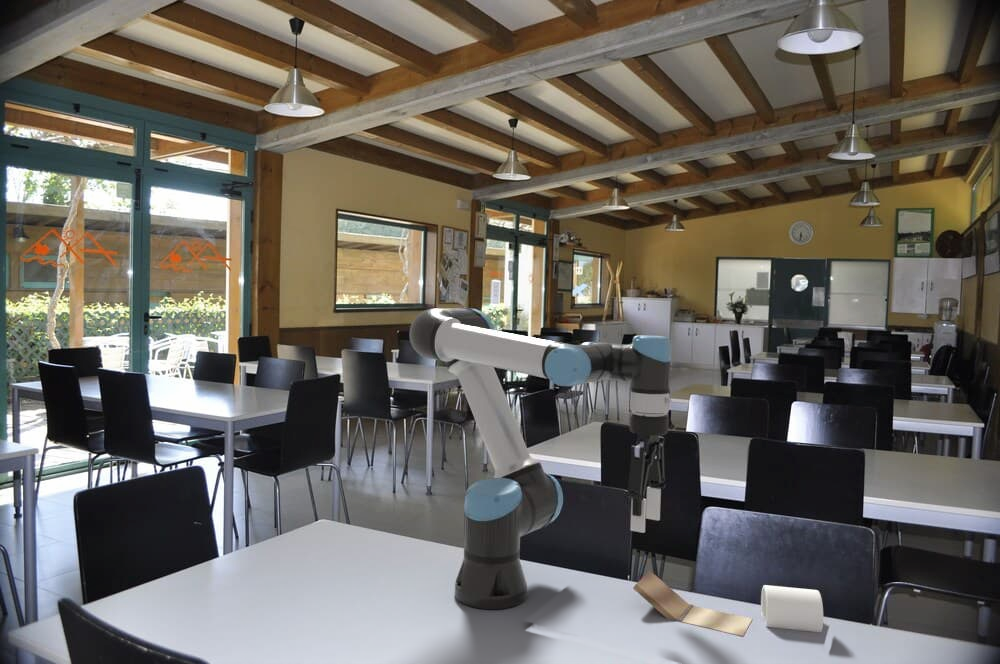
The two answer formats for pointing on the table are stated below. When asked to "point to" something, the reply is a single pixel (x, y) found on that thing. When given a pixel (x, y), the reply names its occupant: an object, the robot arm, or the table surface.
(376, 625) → the table surface
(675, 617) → the plank
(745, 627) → the floorboard
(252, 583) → the table surface
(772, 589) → the mug
